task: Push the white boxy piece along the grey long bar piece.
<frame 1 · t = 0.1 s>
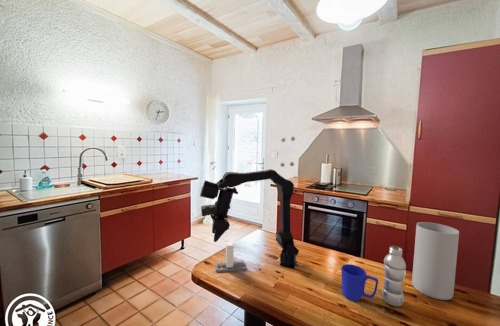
hand: (214, 237, 94), 15 cm above the table, tool pointing down, fingers open, 9 cm apart
grey long bar piece: (230, 267, 99), resting on pipe board
plastic bottle: (391, 303, 79), on the table
mug: (357, 298, 81), on the table
white boxy piece: (229, 254, 99), point 6 cm above the table, slide at 0.0 cm
cylinder vase: (431, 290, 87), on the table
lightbulb: (394, 290, 87), on the table
pipe board: (230, 267, 99), on the table
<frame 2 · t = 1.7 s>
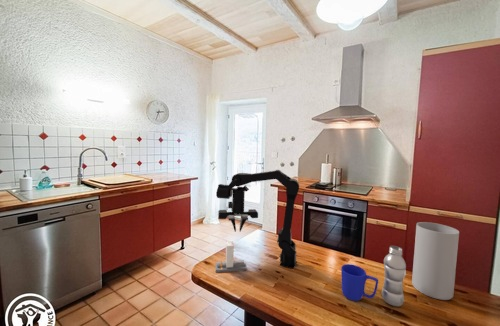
hand: (237, 231, 108), 13 cm above the table, tool pointing down, fingers closed
nothing on the table moved.
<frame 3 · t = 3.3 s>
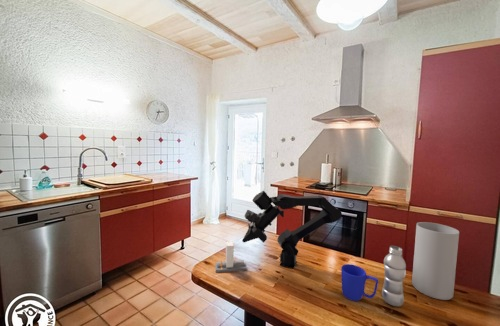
hand: (242, 241, 99), 12 cm above the table, tool tilted 45°, fingers closed
nothing on the table moved.
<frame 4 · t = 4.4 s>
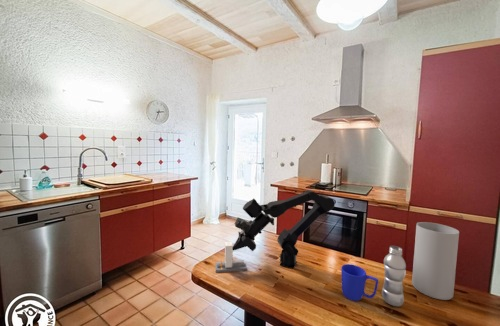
hand: (232, 249, 99), 8 cm above the table, tool tilted 45°, fingers closed, pressing on white boxy piece
white boxy piece: (228, 254, 99), point 6 cm above the table, slide at 0.4 cm, touching gripper
everything else where it was.
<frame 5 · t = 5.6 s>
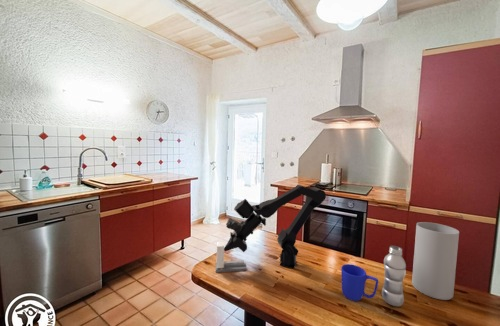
hand: (224, 250, 98), 8 cm above the table, tool tilted 45°, fingers closed
white boxy piece: (220, 254, 98), point 6 cm above the table, slide at 4.1 cm
everything else where it was.
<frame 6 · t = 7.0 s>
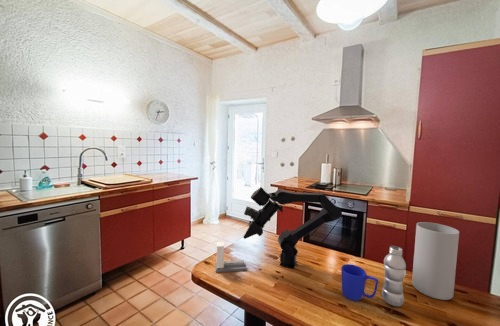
hand: (244, 237, 102), 13 cm above the table, tool tilted 40°, fingers closed
nothing on the table moved.
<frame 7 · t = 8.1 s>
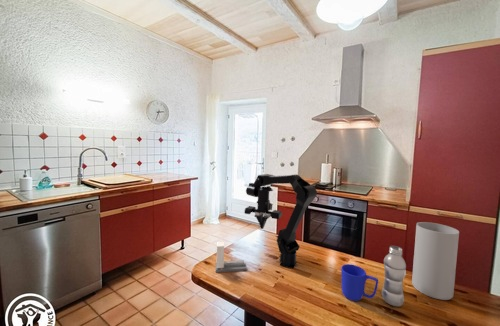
hand: (262, 228, 115), 12 cm above the table, tool pointing down, fingers closed
nothing on the table moved.
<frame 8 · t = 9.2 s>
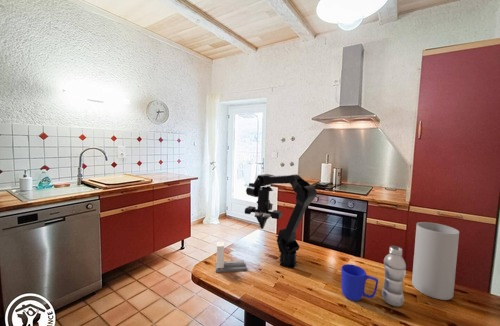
hand: (262, 228, 115), 12 cm above the table, tool pointing down, fingers closed
nothing on the table moved.
at the end: white boxy piece slide at 4.1 cm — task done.
